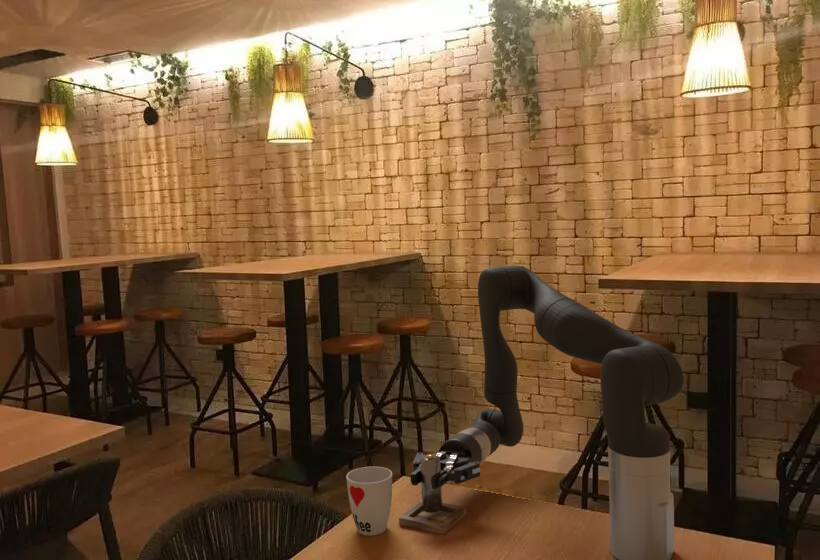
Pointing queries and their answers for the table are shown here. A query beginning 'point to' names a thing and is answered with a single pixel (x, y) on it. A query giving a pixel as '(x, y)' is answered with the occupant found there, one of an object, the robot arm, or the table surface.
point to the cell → (430, 483)
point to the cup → (370, 498)
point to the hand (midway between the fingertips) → (423, 481)
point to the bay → (433, 518)
